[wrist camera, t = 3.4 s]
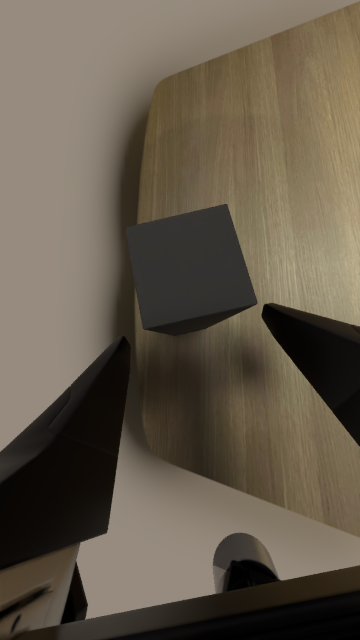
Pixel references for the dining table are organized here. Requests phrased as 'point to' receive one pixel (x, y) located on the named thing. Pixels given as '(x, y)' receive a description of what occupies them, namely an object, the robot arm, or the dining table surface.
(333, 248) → the dining table surface
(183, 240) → the pad block
